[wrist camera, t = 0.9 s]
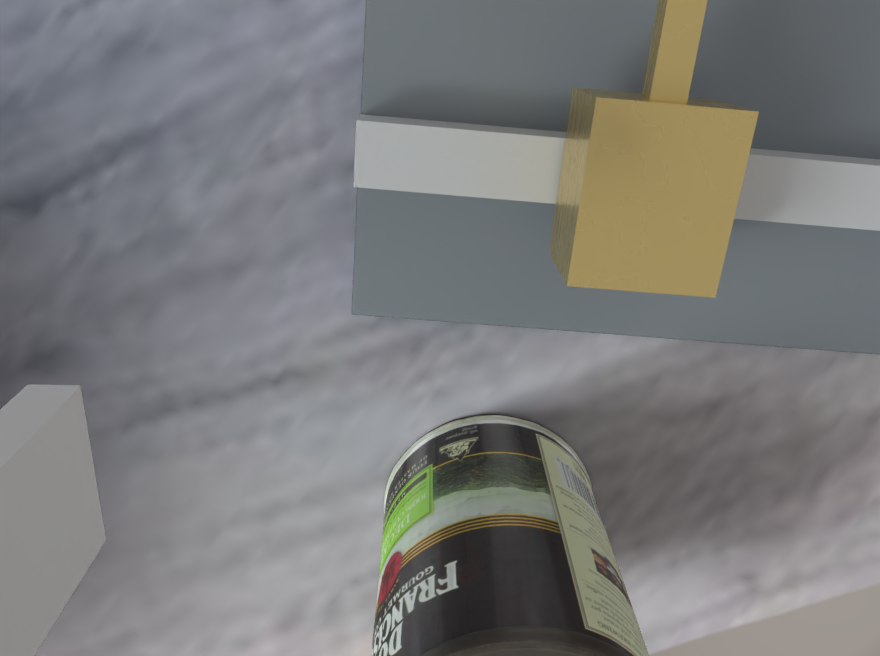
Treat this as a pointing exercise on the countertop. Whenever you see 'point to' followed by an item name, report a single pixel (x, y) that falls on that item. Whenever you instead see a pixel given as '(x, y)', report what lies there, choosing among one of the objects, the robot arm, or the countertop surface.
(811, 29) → the gauge board
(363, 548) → the countertop surface
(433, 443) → the coffee can
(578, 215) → the pointer
